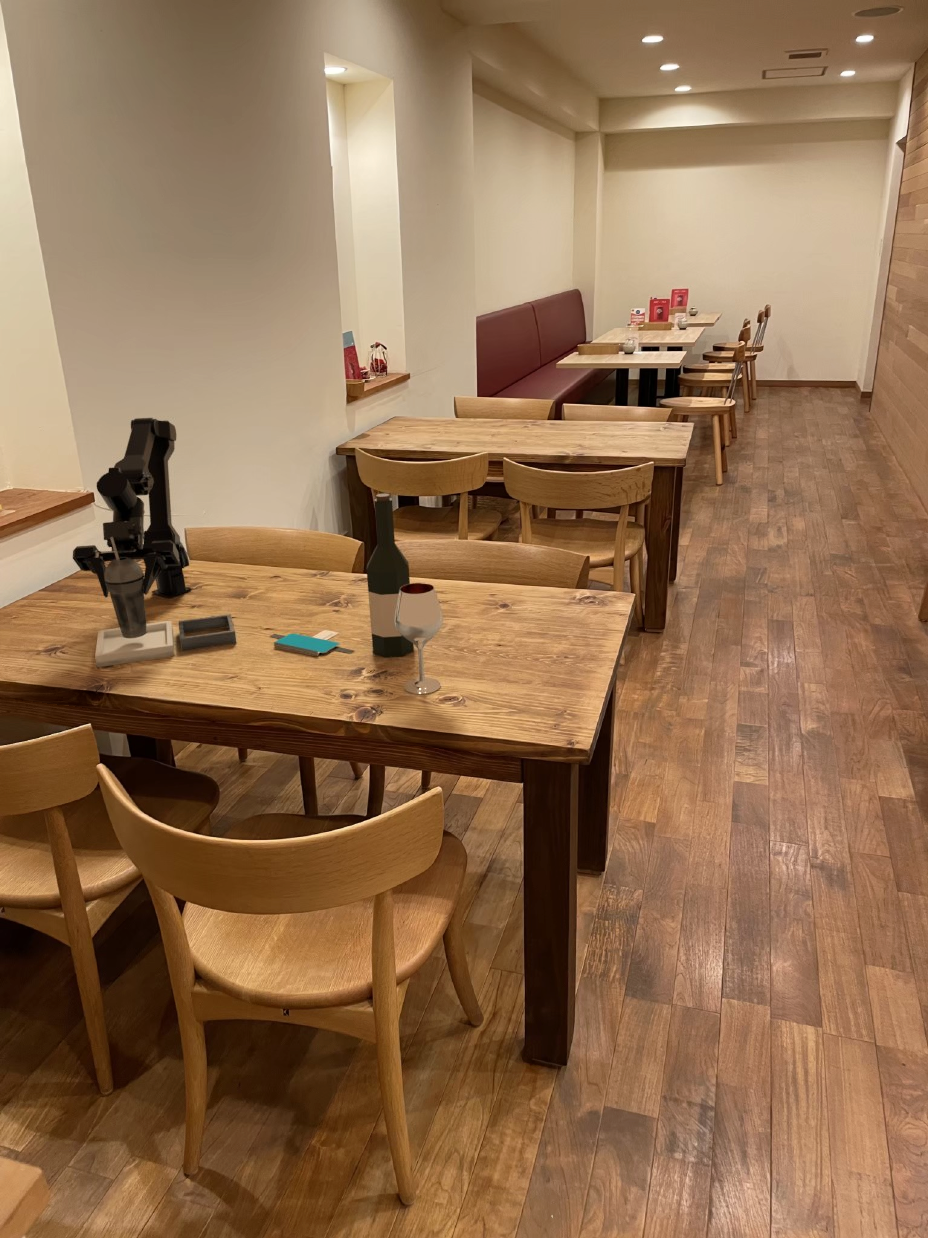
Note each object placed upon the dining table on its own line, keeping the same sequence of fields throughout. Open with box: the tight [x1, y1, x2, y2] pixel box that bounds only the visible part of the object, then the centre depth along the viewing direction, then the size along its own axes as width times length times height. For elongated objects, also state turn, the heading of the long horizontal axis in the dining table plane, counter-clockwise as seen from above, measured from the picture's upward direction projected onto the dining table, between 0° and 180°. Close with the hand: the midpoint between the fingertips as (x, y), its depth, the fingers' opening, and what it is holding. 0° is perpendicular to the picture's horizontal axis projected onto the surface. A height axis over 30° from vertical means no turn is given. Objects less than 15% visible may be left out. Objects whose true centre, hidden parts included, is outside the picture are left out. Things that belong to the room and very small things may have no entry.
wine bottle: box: [366, 493, 415, 659], centre depth 166 cm, size 8×8×30 cm
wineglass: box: [394, 582, 444, 695], centre depth 152 cm, size 8×8×18 cm
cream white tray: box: [94, 620, 175, 668], centre depth 176 cm, size 14×14×2 cm
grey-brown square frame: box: [178, 613, 237, 652], centre depth 180 cm, size 10×10×2 cm
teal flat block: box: [269, 629, 355, 658], centre depth 176 cm, size 20×12×2 cm, turn 60°
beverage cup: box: [104, 537, 147, 638], centre depth 172 cm, size 7×7×20 cm
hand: (125, 595), depth 171 cm, fingers closed on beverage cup, 7 cm apart
